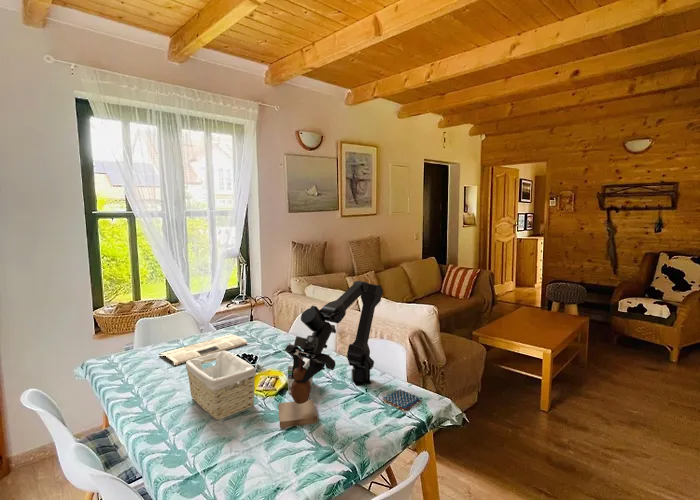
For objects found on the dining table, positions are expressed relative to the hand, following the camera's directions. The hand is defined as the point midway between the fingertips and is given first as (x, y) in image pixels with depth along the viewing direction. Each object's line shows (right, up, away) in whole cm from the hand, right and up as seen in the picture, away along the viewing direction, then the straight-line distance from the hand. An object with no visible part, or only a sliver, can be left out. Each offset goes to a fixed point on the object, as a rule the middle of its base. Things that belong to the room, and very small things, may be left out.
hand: (297, 380), depth 126 cm
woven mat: (+35, -12, +13) cm, 39 cm away
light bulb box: (-2, -11, +24) cm, 26 cm away
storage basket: (-29, -13, +13) cm, 34 cm away
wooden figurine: (+1, -8, +2) cm, 8 cm away
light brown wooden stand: (-1, -13, +4) cm, 13 cm away
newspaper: (-55, -8, +66) cm, 86 cm away
